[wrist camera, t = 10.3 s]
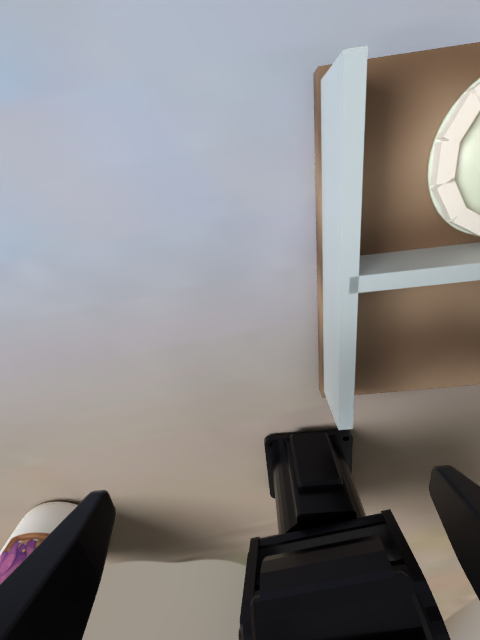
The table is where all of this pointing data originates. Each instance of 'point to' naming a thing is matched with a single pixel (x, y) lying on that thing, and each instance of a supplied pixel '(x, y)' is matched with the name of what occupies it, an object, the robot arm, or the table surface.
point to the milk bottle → (31, 534)
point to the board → (397, 223)
